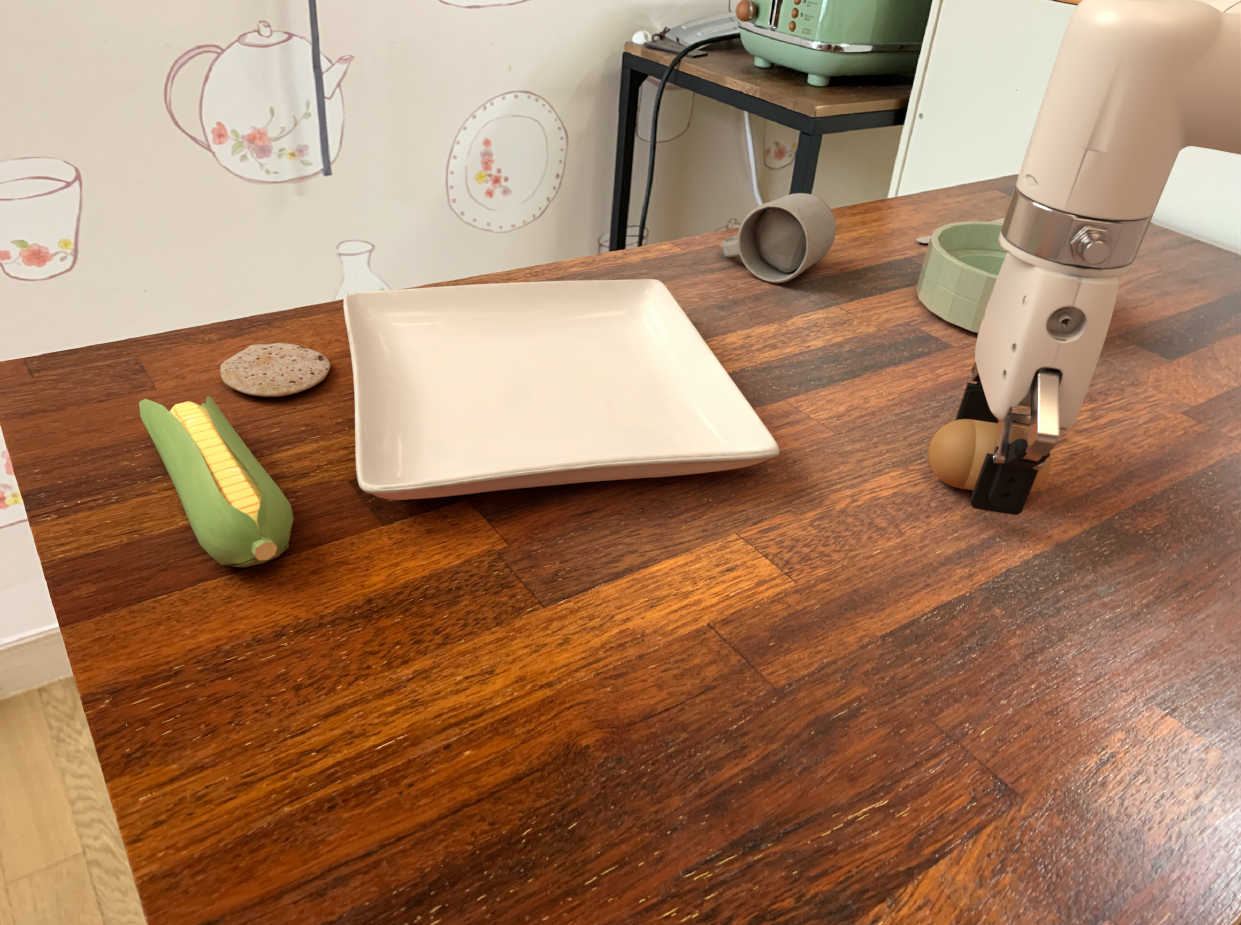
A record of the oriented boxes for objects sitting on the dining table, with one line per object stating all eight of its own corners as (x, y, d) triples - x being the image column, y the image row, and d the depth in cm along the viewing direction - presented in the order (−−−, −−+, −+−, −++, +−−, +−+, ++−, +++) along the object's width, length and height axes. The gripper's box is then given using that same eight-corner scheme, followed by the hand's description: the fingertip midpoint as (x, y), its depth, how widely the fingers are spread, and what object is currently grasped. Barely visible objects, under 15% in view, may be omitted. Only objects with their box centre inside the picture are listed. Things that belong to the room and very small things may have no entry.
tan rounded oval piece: (1030, 475, 67) (1053, 418, 64) (1044, 515, 63) (1068, 457, 60) (917, 457, 67) (935, 401, 65) (923, 496, 64) (942, 438, 61)
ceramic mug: (833, 267, 95) (848, 193, 91) (801, 293, 90) (815, 215, 85) (741, 242, 100) (751, 170, 95) (704, 264, 94) (713, 189, 90)
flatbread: (350, 377, 71) (349, 365, 70) (261, 413, 66) (259, 401, 65) (288, 340, 75) (286, 328, 74) (199, 371, 70) (197, 360, 69)
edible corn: (224, 603, 51) (209, 538, 48) (134, 427, 63) (118, 369, 61) (316, 570, 53) (307, 507, 51) (212, 408, 66) (200, 351, 64)
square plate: (363, 539, 56) (357, 487, 54) (346, 330, 77) (341, 286, 75) (777, 491, 63) (787, 443, 61) (657, 311, 84) (661, 271, 82)
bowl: (1061, 289, 95) (1082, 233, 92) (1098, 359, 83) (1124, 297, 79) (909, 268, 97) (924, 212, 93) (922, 334, 84) (940, 272, 81)
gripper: (1187, 299, 47) (1067, 559, 57) (1101, 190, 61) (1017, 413, 71) (1034, 278, 48) (942, 539, 58) (984, 175, 62) (917, 399, 72)
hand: (984, 469), depth 64 cm, fingers open, 8 cm apart
